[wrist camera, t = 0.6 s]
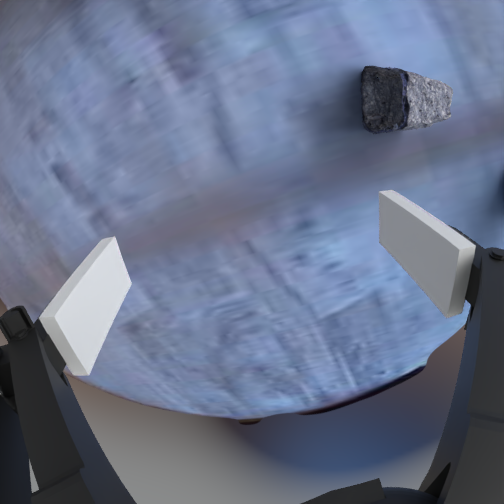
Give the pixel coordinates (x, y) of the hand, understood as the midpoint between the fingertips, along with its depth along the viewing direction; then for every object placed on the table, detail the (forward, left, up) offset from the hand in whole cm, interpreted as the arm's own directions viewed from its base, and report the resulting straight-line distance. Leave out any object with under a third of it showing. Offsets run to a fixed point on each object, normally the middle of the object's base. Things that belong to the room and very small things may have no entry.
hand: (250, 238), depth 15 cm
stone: (-4, +22, -27) cm, 35 cm away
